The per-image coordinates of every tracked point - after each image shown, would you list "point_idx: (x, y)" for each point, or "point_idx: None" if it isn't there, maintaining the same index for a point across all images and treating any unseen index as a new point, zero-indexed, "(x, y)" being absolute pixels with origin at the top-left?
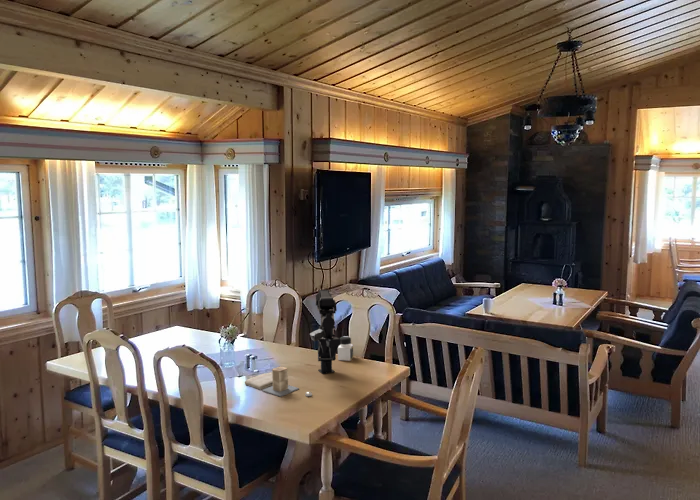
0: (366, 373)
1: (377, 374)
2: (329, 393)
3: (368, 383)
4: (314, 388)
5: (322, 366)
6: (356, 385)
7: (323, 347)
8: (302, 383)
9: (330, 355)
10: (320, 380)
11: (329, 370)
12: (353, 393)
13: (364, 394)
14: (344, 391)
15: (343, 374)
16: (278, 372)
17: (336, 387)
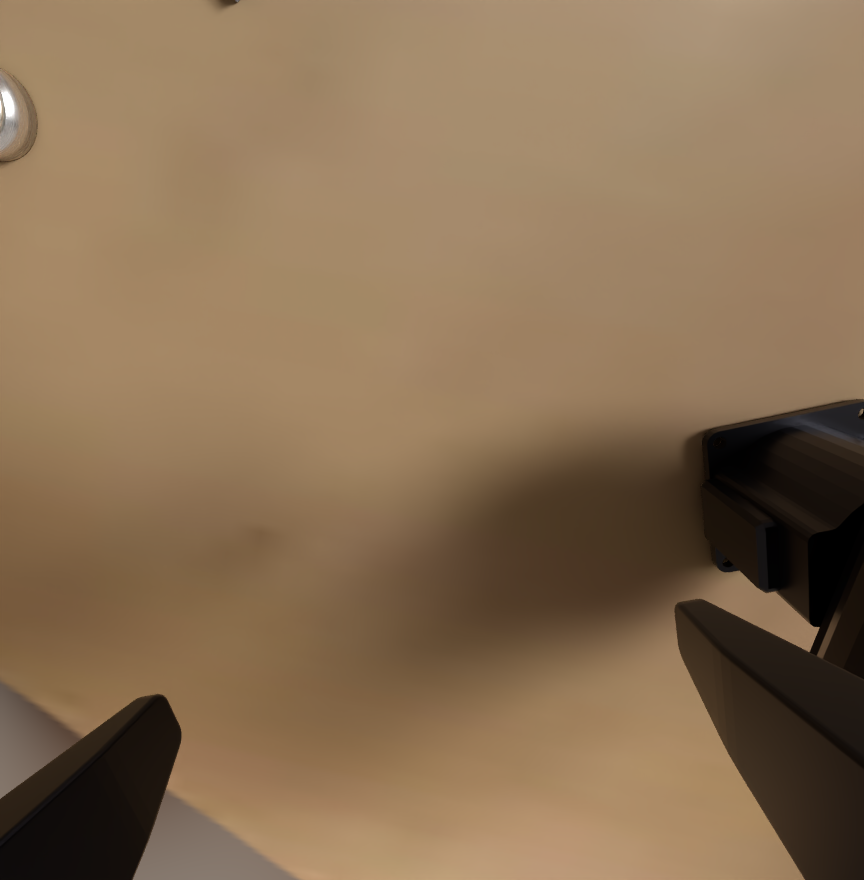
0: (555, 811)
1: (496, 873)
2: (55, 381)
3: (286, 765)
4: (237, 236)
5: (811, 461)
6: (254, 669)
7: (801, 770)
8: (459, 97)
9: (82, 749)
10: (501, 360)
11: (714, 522)
12: (43, 600)
13: (13, 676)
14: (103, 536)
15: (609, 631)
16: None
17: (229, 487)
